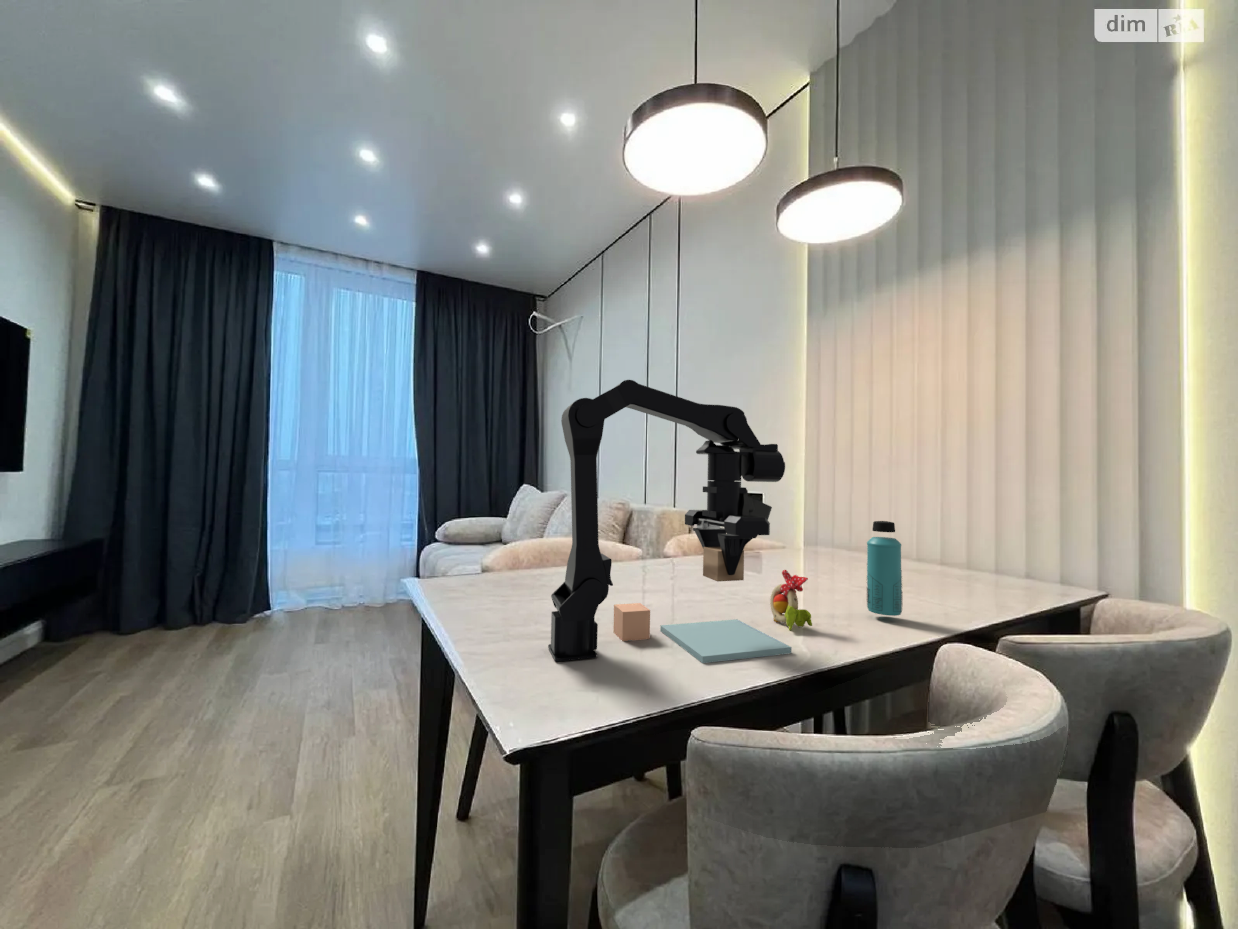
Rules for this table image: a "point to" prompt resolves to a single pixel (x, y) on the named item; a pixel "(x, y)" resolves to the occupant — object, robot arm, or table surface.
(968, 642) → the table surface
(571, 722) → the table surface
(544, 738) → the table surface
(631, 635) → the terracotta cube
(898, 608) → the beverage bottle
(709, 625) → the board
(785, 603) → the bird rattle
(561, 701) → the table surface
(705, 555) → the walnut cube
